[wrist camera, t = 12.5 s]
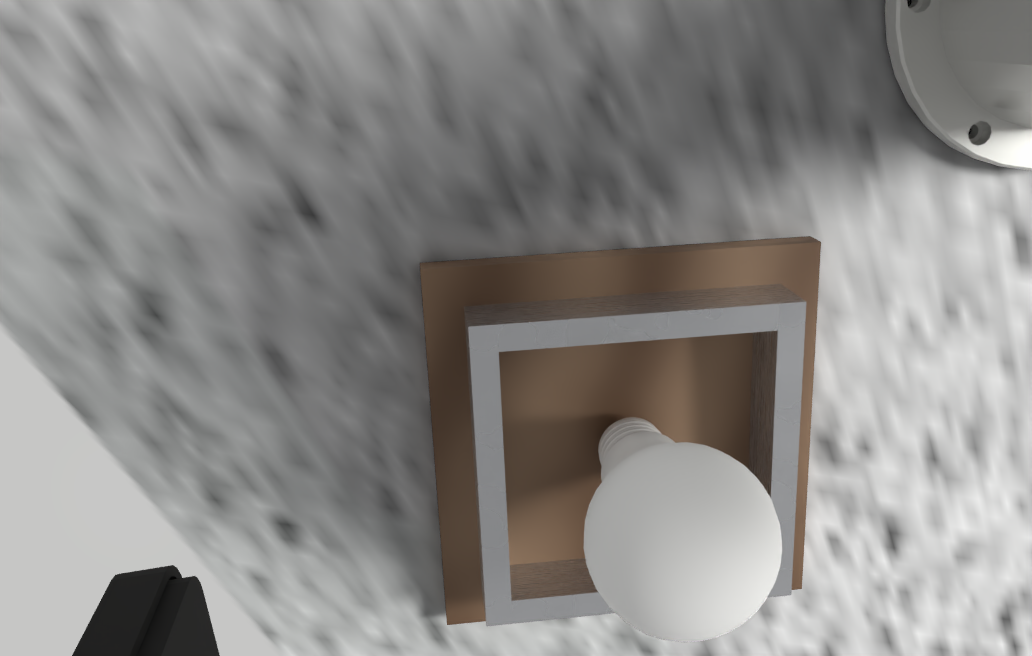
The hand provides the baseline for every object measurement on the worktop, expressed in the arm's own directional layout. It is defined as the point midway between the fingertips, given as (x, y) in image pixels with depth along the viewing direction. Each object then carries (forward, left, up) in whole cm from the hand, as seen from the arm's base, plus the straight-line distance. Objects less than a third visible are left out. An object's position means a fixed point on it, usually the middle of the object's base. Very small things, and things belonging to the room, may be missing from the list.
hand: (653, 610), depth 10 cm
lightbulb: (-5, +10, -26) cm, 28 cm away
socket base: (-5, +10, -26) cm, 29 cm away
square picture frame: (-5, +10, -26) cm, 29 cm away
